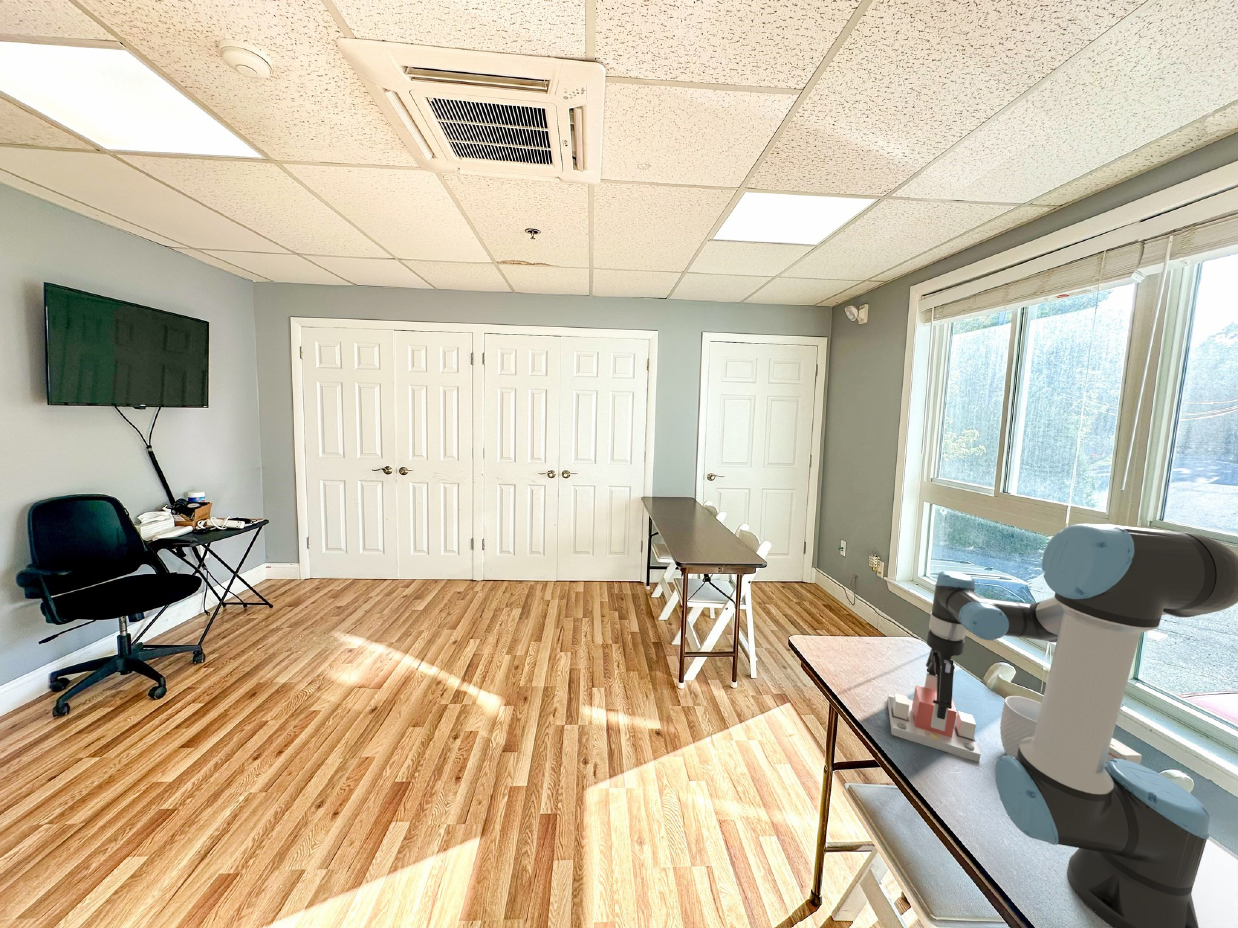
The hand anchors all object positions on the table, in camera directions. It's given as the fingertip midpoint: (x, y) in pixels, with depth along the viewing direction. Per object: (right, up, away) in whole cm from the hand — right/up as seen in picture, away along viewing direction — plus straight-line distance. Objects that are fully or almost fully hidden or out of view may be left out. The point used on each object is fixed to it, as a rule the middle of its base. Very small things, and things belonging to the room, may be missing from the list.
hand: (933, 712), depth 122 cm
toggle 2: (+6, -4, -2) cm, 8 cm away
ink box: (+27, -9, -15) cm, 33 cm away
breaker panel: (0, -5, +2) cm, 5 cm away
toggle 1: (-6, -2, +3) cm, 8 cm away
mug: (+17, -8, -8) cm, 21 cm away
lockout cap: (0, -3, +1) cm, 3 cm away
